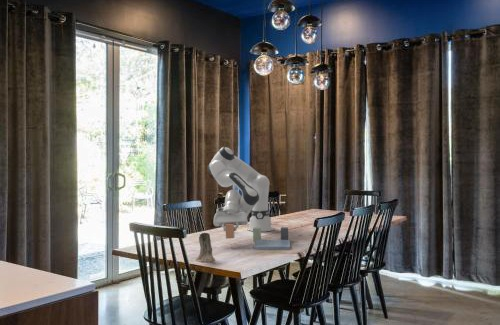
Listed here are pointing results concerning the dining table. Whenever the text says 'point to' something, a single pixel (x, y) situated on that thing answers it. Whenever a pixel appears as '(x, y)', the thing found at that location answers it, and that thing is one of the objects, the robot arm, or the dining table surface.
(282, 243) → the blue-grey baseplate
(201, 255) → the tree stump
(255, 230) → the sage brick
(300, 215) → the dining table surface
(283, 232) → the charcoal brick
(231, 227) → the terracotta brick
